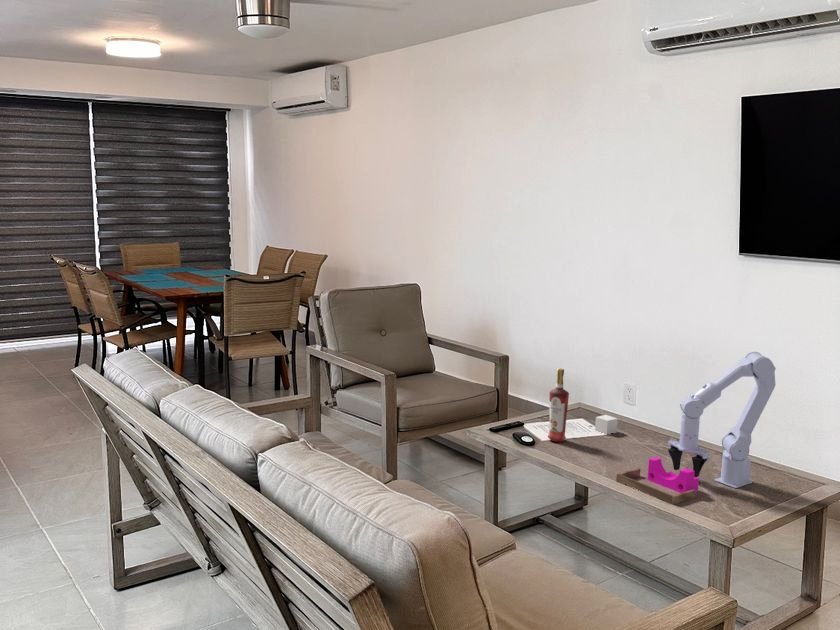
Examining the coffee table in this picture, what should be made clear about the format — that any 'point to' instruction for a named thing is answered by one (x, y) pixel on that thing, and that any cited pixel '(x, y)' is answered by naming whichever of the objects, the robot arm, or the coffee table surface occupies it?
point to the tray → (626, 479)
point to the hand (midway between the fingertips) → (686, 473)
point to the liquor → (558, 409)
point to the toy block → (671, 477)
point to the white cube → (606, 424)
